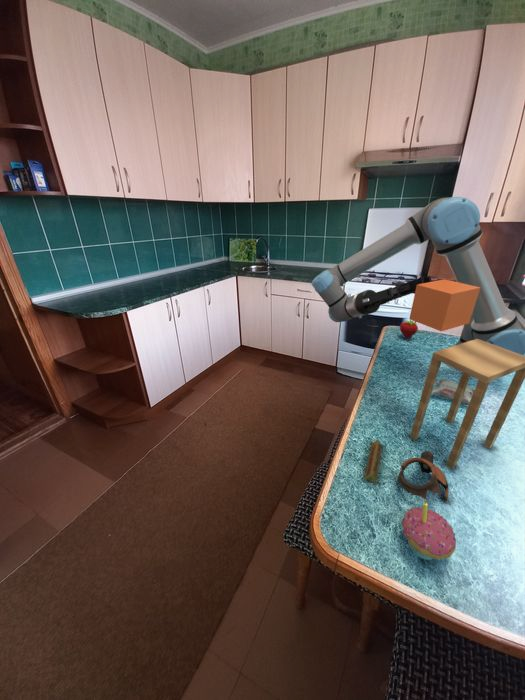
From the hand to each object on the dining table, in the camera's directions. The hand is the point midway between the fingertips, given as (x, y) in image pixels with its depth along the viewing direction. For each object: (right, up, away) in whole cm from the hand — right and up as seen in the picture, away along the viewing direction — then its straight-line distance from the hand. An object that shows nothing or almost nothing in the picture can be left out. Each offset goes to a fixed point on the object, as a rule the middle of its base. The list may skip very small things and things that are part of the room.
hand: (426, 281), depth 73 cm
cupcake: (-12, -54, -19) cm, 59 cm away
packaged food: (+19, -33, +20) cm, 43 cm away
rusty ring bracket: (-6, -48, -8) cm, 49 cm away
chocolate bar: (-14, -45, -2) cm, 47 cm away
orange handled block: (0, -8, +4) cm, 9 cm away
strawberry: (+25, -12, +60) cm, 66 cm away
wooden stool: (+8, -42, +4) cm, 43 cm away
